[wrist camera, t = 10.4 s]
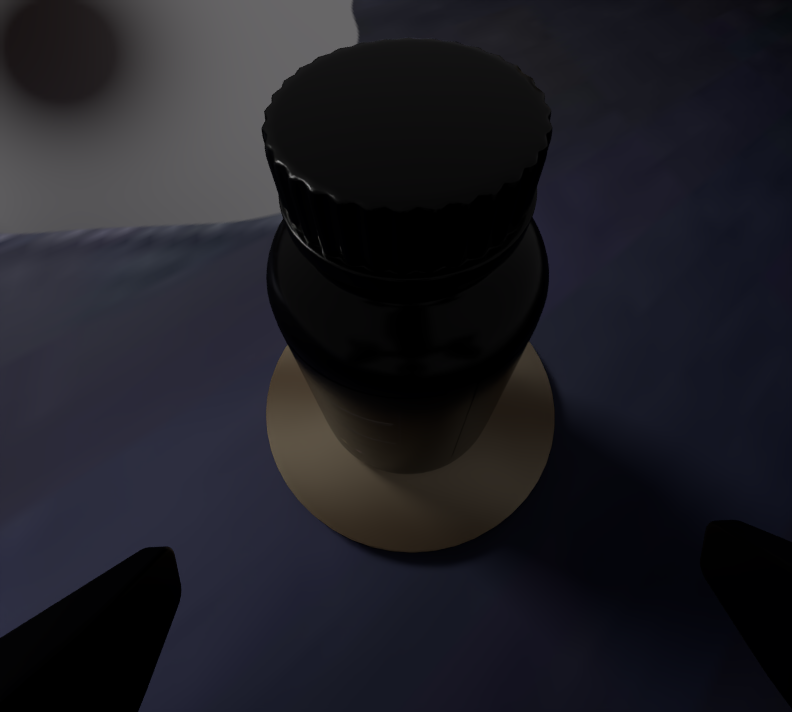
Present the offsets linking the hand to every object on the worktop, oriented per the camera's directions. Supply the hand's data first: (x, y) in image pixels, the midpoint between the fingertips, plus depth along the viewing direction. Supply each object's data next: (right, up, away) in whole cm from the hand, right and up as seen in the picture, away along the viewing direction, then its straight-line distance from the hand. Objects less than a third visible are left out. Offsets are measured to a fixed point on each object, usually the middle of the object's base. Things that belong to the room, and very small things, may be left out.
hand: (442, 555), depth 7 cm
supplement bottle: (0, +2, +10) cm, 11 cm away
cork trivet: (0, +1, +11) cm, 11 cm away
